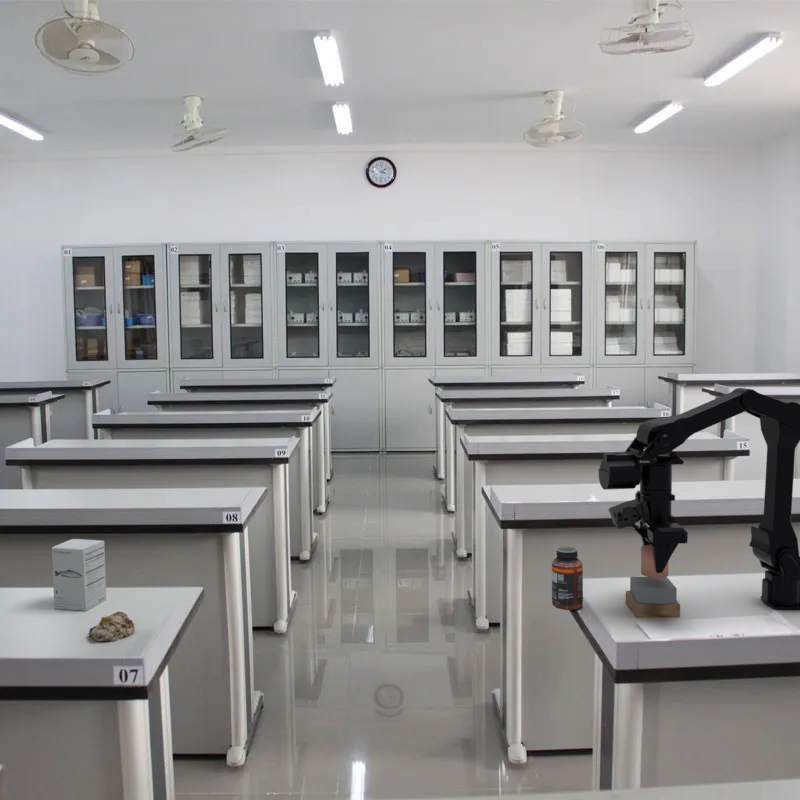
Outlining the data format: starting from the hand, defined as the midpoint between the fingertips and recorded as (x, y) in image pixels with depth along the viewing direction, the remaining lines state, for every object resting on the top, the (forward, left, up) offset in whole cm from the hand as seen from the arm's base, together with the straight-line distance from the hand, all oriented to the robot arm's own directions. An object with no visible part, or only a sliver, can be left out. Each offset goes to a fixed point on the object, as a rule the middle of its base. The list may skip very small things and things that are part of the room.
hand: (654, 568), depth 153 cm
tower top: (0, 0, -6) cm, 6 cm away
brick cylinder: (0, 0, -1) cm, 1 cm away
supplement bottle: (+16, -3, -8) cm, 18 cm away
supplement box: (+113, -6, -8) cm, 113 cm away
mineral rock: (+101, +9, -9) cm, 102 cm away
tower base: (0, 0, -9) cm, 9 cm away
